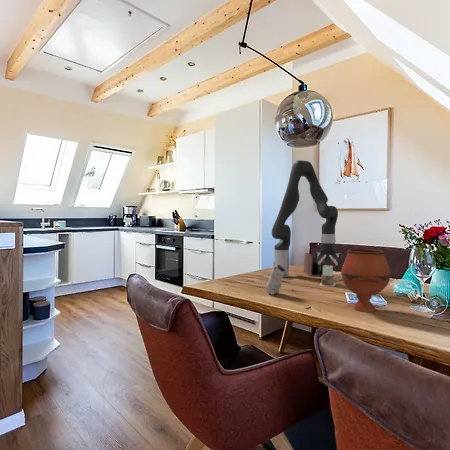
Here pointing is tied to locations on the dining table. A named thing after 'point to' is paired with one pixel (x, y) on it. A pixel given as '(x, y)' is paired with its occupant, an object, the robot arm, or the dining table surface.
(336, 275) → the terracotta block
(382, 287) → the goblet
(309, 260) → the letter holder
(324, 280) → the walnut block
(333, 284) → the build plate
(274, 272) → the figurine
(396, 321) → the dining table surface
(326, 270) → the sage block
